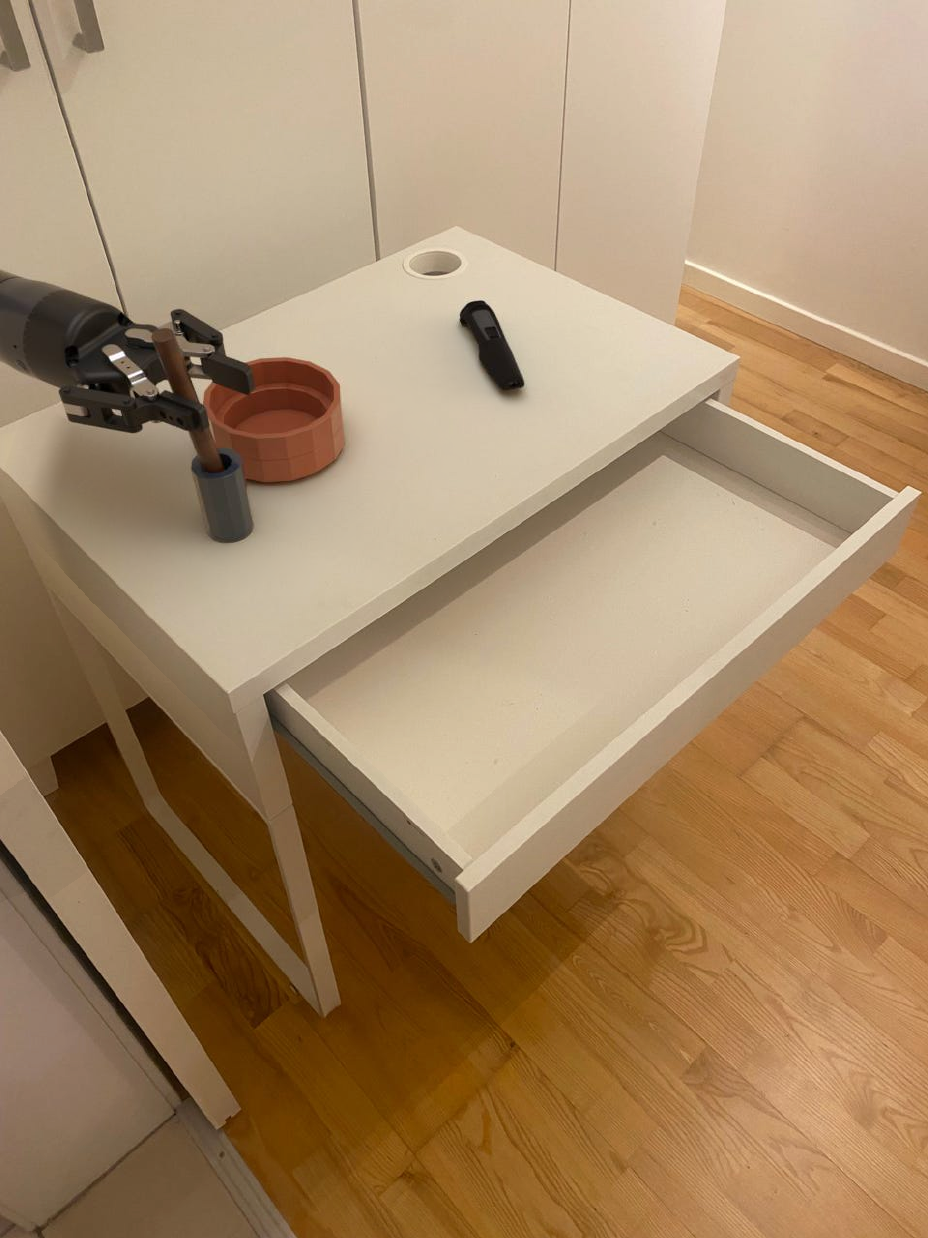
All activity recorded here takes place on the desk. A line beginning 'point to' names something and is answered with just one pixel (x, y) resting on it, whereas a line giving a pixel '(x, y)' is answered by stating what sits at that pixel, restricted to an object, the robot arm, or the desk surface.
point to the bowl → (279, 419)
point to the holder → (224, 498)
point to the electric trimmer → (492, 345)
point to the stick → (185, 394)
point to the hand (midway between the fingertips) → (227, 399)
